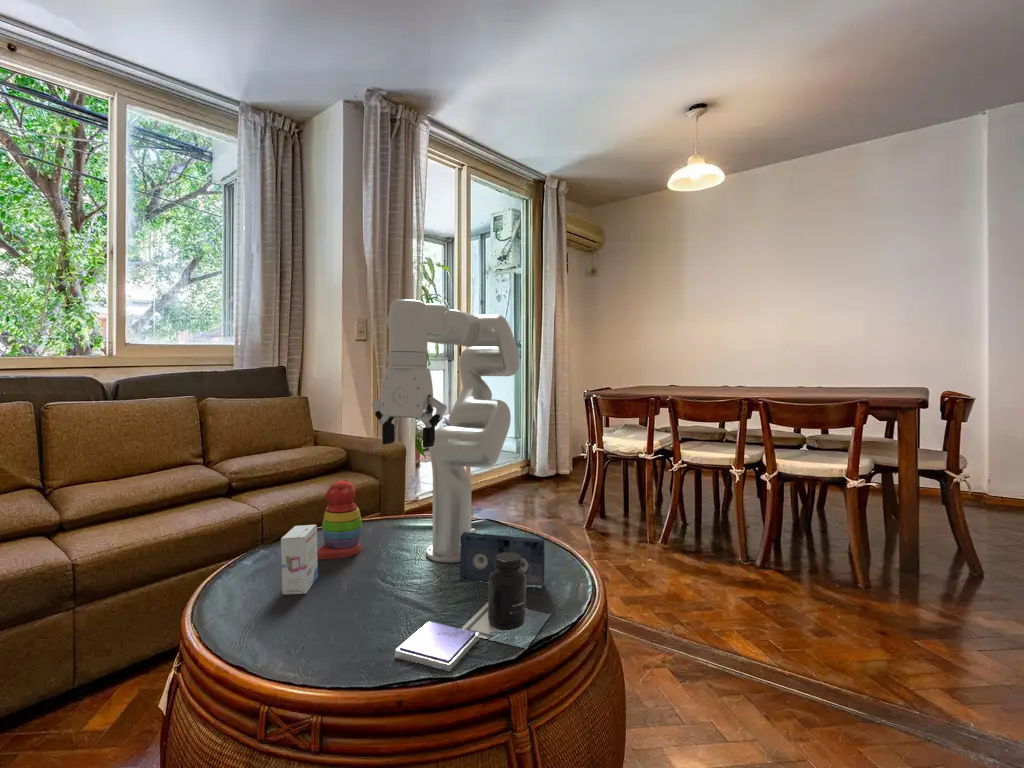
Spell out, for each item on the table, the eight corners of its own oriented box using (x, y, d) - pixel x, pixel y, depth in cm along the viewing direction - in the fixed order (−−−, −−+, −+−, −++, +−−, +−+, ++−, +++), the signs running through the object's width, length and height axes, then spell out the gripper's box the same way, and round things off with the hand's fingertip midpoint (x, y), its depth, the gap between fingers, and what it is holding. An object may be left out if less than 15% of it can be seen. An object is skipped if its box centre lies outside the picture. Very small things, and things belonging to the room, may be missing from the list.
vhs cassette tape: (544, 584, 109) (545, 538, 109) (542, 590, 106) (542, 543, 106) (463, 575, 114) (464, 531, 113) (459, 580, 111) (459, 535, 110)
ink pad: (428, 628, 90) (428, 619, 90) (479, 640, 86) (479, 631, 86) (394, 657, 81) (394, 648, 81) (449, 672, 77) (449, 662, 77)
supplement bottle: (521, 634, 88) (522, 565, 88) (483, 629, 89) (484, 562, 89) (528, 615, 95) (529, 551, 94) (493, 611, 96) (493, 548, 96)
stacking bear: (329, 543, 132) (329, 475, 132) (367, 544, 132) (367, 476, 131) (311, 559, 122) (311, 485, 121) (353, 560, 121) (353, 486, 121)
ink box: (295, 577, 111) (294, 523, 111) (318, 577, 111) (318, 523, 111) (280, 595, 103) (280, 537, 102) (306, 594, 103) (306, 536, 103)
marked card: (489, 601, 100) (489, 600, 100) (551, 614, 95) (551, 613, 95) (457, 633, 89) (457, 631, 88) (526, 650, 83) (526, 648, 83)
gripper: (361, 360, 103) (361, 444, 104) (435, 361, 97) (434, 450, 97) (384, 361, 110) (384, 440, 111) (454, 361, 104) (454, 445, 104)
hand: (408, 445), depth 104 cm, fingers open, 9 cm apart
